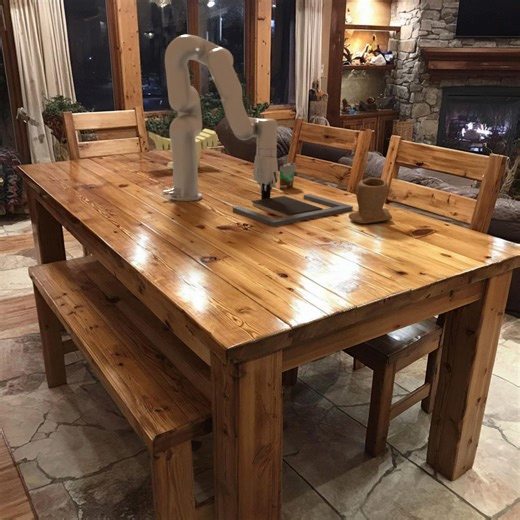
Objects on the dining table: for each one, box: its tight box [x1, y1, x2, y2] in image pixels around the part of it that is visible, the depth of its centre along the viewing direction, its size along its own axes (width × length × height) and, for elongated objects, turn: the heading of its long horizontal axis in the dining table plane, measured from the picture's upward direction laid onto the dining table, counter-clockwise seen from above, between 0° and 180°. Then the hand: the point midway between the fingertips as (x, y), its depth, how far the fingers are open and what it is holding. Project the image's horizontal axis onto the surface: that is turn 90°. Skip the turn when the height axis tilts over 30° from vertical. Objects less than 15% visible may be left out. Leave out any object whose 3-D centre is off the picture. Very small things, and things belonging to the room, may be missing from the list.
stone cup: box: [348, 177, 393, 224], centre depth 190 cm, size 15×12×15 cm
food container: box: [279, 161, 297, 190], centre depth 240 cm, size 12×6×10 cm, turn 168°
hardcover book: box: [251, 195, 324, 218], centre depth 207 cm, size 16×23×2 cm
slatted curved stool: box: [148, 128, 218, 170], centre depth 279 cm, size 30×16×18 cm, turn 117°
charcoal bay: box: [232, 193, 354, 227], centre depth 204 cm, size 37×24×2 cm, turn 127°
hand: (265, 200), depth 217 cm, fingers closed
